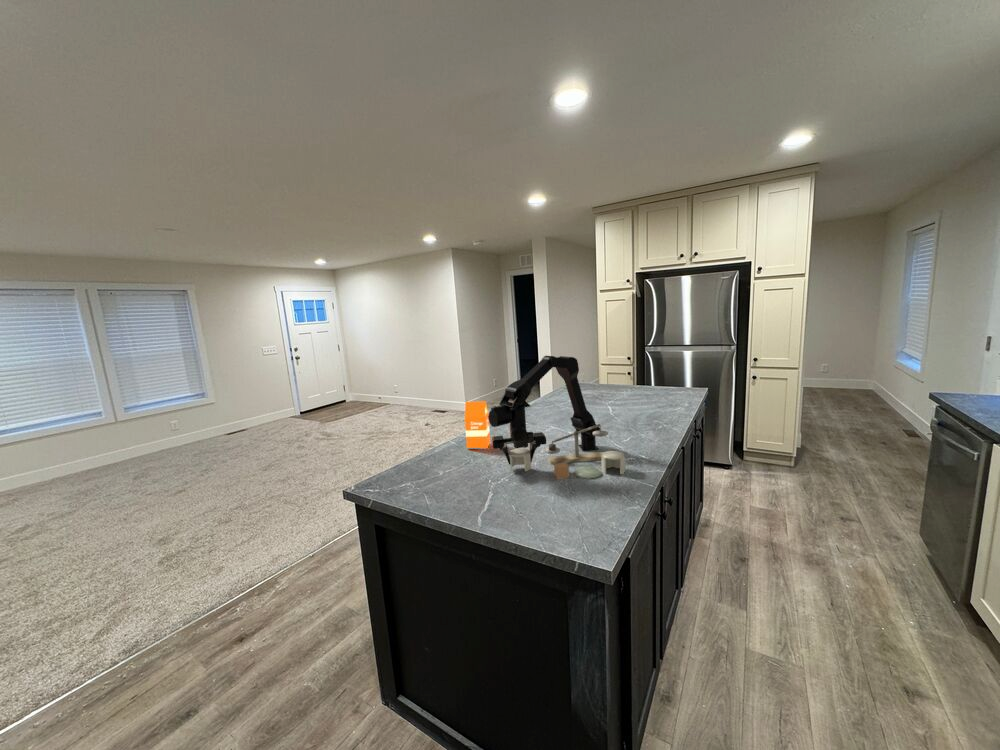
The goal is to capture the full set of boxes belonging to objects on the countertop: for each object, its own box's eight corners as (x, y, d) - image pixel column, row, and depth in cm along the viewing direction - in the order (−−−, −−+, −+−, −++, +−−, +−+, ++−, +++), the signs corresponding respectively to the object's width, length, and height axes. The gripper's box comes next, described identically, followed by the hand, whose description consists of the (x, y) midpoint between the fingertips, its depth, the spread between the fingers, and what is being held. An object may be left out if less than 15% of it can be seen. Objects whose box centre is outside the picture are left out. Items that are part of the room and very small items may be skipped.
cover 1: (509, 465, 146) (508, 449, 145) (528, 463, 146) (528, 447, 145) (511, 472, 138) (510, 456, 138) (532, 470, 139) (531, 454, 138)
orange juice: (470, 444, 176) (467, 399, 173) (490, 444, 174) (487, 399, 171) (467, 450, 168) (463, 404, 165) (487, 450, 167) (484, 403, 164)
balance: (547, 465, 146) (545, 430, 144) (544, 459, 152) (542, 426, 150) (610, 459, 148) (610, 425, 146) (605, 454, 153) (604, 421, 151)
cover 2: (599, 468, 141) (599, 451, 140) (619, 466, 141) (619, 450, 140) (606, 476, 133) (606, 459, 132) (627, 474, 134) (627, 457, 133)
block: (554, 474, 138) (554, 463, 137) (565, 473, 138) (565, 462, 138) (557, 479, 134) (556, 467, 133) (568, 478, 134) (568, 466, 134)
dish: (572, 469, 141) (572, 467, 140) (595, 467, 141) (595, 465, 141) (578, 479, 132) (578, 477, 132) (604, 477, 133) (604, 475, 133)
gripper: (492, 429, 131) (495, 474, 133) (548, 424, 132) (550, 469, 135) (490, 420, 142) (493, 462, 144) (542, 416, 143) (544, 458, 146)
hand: (520, 463), depth 142 cm, fingers closed on cover 1, 7 cm apart
